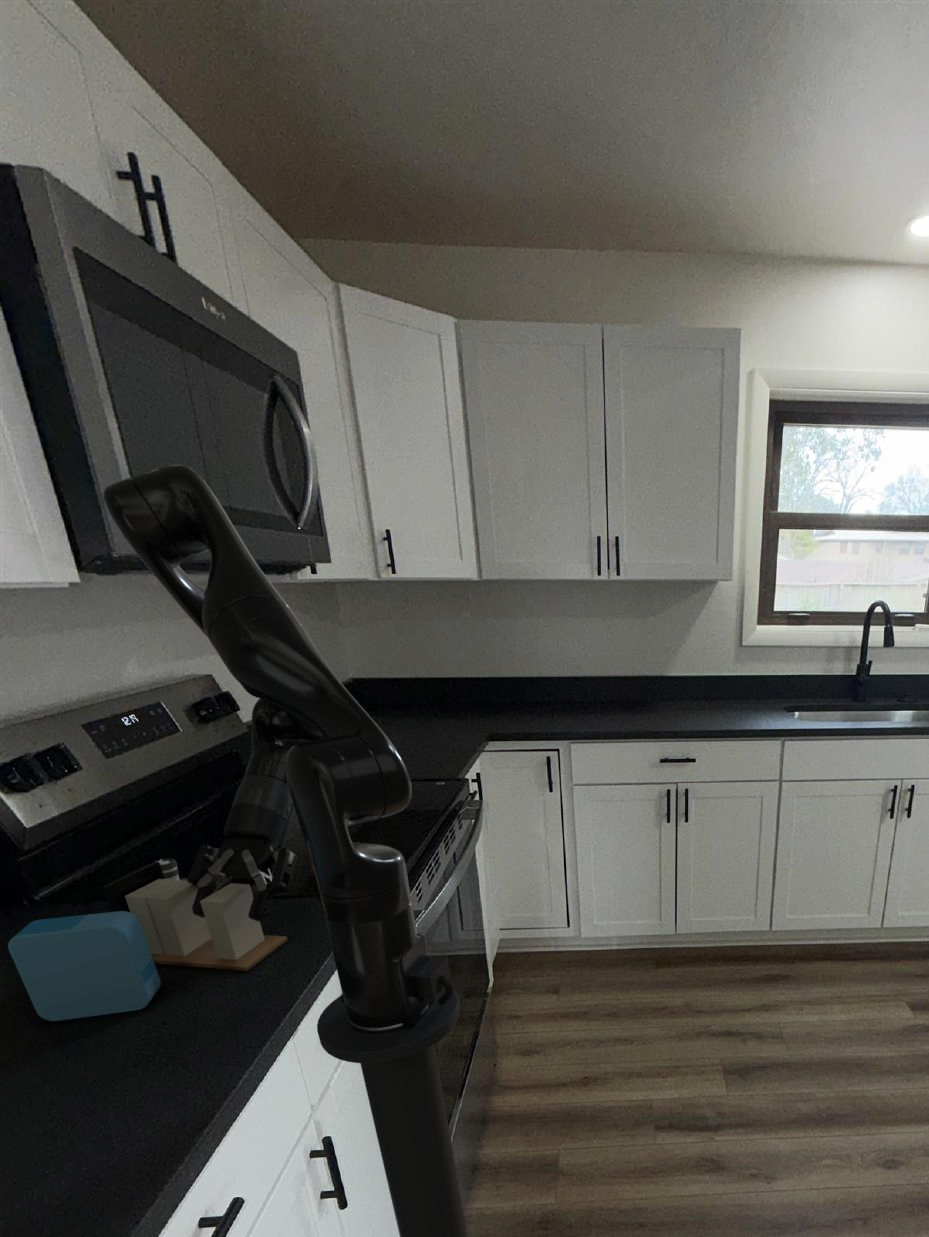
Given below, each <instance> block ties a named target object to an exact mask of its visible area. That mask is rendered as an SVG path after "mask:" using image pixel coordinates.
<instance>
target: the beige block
mask: <svg viewBox="0 0 929 1237" xmlns="http://www.w3.org/2000/svg"><path fill="white" fill-rule="evenodd" d="M251 888H252V887H251V885H250V884H249V883H248V884H247V883H234V882H233V883H231V882H230V883H228V884H226V885H225V886H224V887H221V888H219V889H218V890H217V891H216V892H215V893H213V894H211V895H210V896H208V897H206V898H205V899H203V900H201V901H200V903H201V906H202V909H203V912H204V916H205V919H206V922H207V925H208V929H209V932H210V935H211V938H212V942H213V945H214V948H215V951H216V955H217V958H218V959H230V960H237V959H239V958H240V957H242V956H243V955H244V954H246V953H247V952H248V951H250V950H251V949H253V948H254V947H255V946H257V945H258V944H260V943H261V942H262V941H264V940H265V939H264V935H265V934H264V932H263V929H262V925H261V921H255V920H253V919H251V918H249V916H248V914H249V911H250V907H251V904H252V901H253V898H254V895H253V891H252V889H251Z"/></svg>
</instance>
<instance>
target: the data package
mask: <svg viewBox="0 0 929 1237" xmlns="http://www.w3.org/2000/svg"><path fill="white" fill-rule="evenodd" d="M7 949H8V951H9V954H10V956H11V959H12V961H13V963H14V965H15V967H16V969H17V972H18V974H19V976H20V978H21V981H22V983H23V985H24V987H25V990H26V992H27V994H28V996H29V998H30V1001H31V1003H32V1006H33V1007H34V1010H35V1012H36V1014H37V1015H38V1016H39V1017H40V1018H42V1019H43V1020H45V1021H48V1022H61V1021H68V1020H70V1021H71V1020H76V1019H84V1018H91V1017H98V1016H106V1015H107V1016H108V1015H114V1014H121V1013H127V1012H135V1011H141V1010H143V1009H145V1008H146V1007H148V1005H149V1004H150V1003H151V1001H152V999H153V998H154V996H155V995H156V994H157V992H158V991H159V989H160V988H161V984H162V982H161V981H162V980H161V978H160V975H159V973H158V969H157V967H156V966H157V965H156V963H154V961H153V958H152V955H151V952H150V949H149V946H148V944H147V941H146V938H145V935H144V932H143V929H142V927H141V924H140V921H139V919H138V918H137V917H136V916H135V915H134V914H132V913H130V912H126V911H117V912H111V911H110V912H109V911H108V912H100V913H90V914H80V915H72V916H61V917H52V918H41V919H36V920H33V921H31V922H29V923H28V924H27V925H25V927H23V928H22V929H21V930H20V931H19V932H17V933H16V934H15V935H14V936H13V937H12V938H11V939H10V940H9V941H8V944H7Z"/></svg>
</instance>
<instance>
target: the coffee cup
mask: <svg viewBox="0 0 929 1237" xmlns="http://www.w3.org/2000/svg"><path fill="white" fill-rule="evenodd" d="M154 862H159V863H160V866H161V869H162V872H163V875H164V878H165V879H168V880H177V881H180V880H183V881H187V878H188V877H180V876H179V869H178V862H177V861H176V859H174V858H163V859H162V858H160V859H159V860H158V861H157V860H155V861H154Z"/></svg>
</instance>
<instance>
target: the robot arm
mask: <svg viewBox="0 0 929 1237" xmlns="http://www.w3.org/2000/svg"><path fill="white" fill-rule="evenodd" d="M103 501H104V503H105V507H106V509H107V511H108V514H109V515H110V517H111V519H112V520H113V522H114V524H115V525H116V526H117V528H118V530H119V531H120V533H121V534H122V536H123V537H124V539H125V540H126V542H127V543H128V545H129V546H130V547H131V548H132V550H133V551H134V553H135V554H136V555H137V556H138V557H139V559H140V560H141V561H142V562H143V563H144V565H145V566H146V567H147V569H148V570H149V571H150V572H151V573H152V575H153V576H154V577H155V578H156V579H157V581H158V582H159V583H160V584H161V585H162V587H163V588H164V589H165V590H166V592H167V593H168V594H169V595H170V596H171V598H173V600H174V601H175V602H176V603H177V605H178V606H179V607H180V608H181V609H182V610H183V611H184V613H185V614H186V615H187V616H188V617H189V618H190V619H191V621H192V622H193V623H194V624H195V625H196V626H197V628H199V629H200V631H201V632H202V633H203V634H204V635H205V636H206V638H207V639H208V641H209V642H210V644H211V646H212V647H213V649H214V650H215V651H216V654H217V655H218V656H219V658H220V659H221V661H222V662H223V664H224V665H225V667H226V669H227V670H228V672H230V674H231V675H232V676H233V678H234V679H235V680H236V681H237V682H238V683H239V685H240V686H241V687H242V688H243V689H244V690H245V691H246V693H247V694H249V695H251V696H252V697H255V698H258V699H257V701H256V702H255V703H254V705H253V708H252V711H251V754H250V758H249V761H248V764H247V766H246V769H245V773H244V775H243V778H242V780H241V783H240V784H239V786H238V788H237V791H236V793H235V796H234V799H233V802H232V805H231V808H230V810H229V814H228V817H227V820H226V822H225V825H224V829H223V837H224V841H223V843H222V845H220V847H211V846H210V845H208V844H206V843H203V844H201V845H200V846H199V849H198V850H197V853H196V856H195V858H194V861H193V863H192V865H191V869H190V871H189V874H188V876H187V877H186V878H187V881H188V882H189V883H191V884H193V885H195V886H197V887H198V892H197V894H196V897H195V900H194V903H193V906H192V910H193V913H194V914H195V915H197V916H199V917H201V918H205V916H204V912H203V909H202V906H201V903H200V901H201V900H203V899H205V898H206V897H208V896H210V895H211V894H213V893H215V892H217V891H218V890H220V889H221V888H223V886H224V885H229V884H230V883H231V882H232V881H233V880H234V879H235V880H243V879H247V880H250V881H254V883H255V885H256V888H257V890H258V891H255V892H254V895H253V901H252V904H251V907H250V911H249V914H248V916H249V918H251V919H253V920H255V921H260V922H263V921H264V918H266V917H267V916H268V913H269V910H270V908H271V903H272V900H273V897H275V896H277V894H281V893H283V894H287V893H288V892H289V891H290V889H291V886H292V885H291V884H292V881H293V877H294V873H295V868H296V864H297V859H298V856H297V855H296V854H295V853H294V852H292V851H291V850H290V849H287V848H286V847H282V846H283V843H284V839H285V836H286V834H287V830H288V826H289V823H290V820H291V817H292V813H293V810H295V814H296V817H297V820H298V824H299V827H300V830H301V834H302V839H303V842H304V845H305V846H304V847H305V849H306V850H305V851H306V853H307V857H308V860H309V863H310V866H311V869H312V871H313V874H314V877H315V881H316V884H317V889H318V892H319V898H320V901H321V906H322V910H323V913H324V919H325V923H326V928H327V931H328V936H329V942H330V945H331V950H332V955H333V959H334V964H335V967H336V972H337V976H338V982H339V985H340V989H341V994H340V1000H341V1005H342V1006H343V1004H344V1002H345V1007H346V1011H347V1020H348V1023H349V1025H350V1026H351V1027H352V1028H354V1029H355V1030H357V1031H360V1032H364V1033H386V1032H392V1031H396V1030H399V1029H403V1028H410V1029H412V1028H414V1027H415V1026H416V1025H417V1023H418V1022H419V1021H420V1020H421V1018H422V1017H423V1016H424V1015H425V1014H426V1013H427V1011H428V1010H429V1008H430V1007H431V1006H432V1005H433V1003H434V1002H435V1001H436V998H435V997H436V996H437V994H438V993H439V992H440V991H441V989H442V988H443V987H445V989H446V992H445V994H444V995H443V996H442V997H441V998H440V999H439V1001H438V1003H439V1004H440V1005H444V1004H445V1003H446V1001H448V1000H449V998H450V997H451V996H452V994H453V989H454V986H453V985H452V983H451V982H450V980H451V977H452V976H451V970H450V969H451V968H450V964H449V963H450V962H449V957H448V956H447V957H445V956H434V955H433V956H432V955H430V956H429V951H428V944H427V938H426V935H425V933H423V932H418V930H417V924H416V918H415V913H414V908H413V907H414V906H413V901H412V895H411V894H412V893H411V889H410V883H409V877H408V872H407V871H408V870H407V864H406V859H405V857H404V856H403V854H402V853H401V851H400V850H399V849H396V848H394V847H392V846H388V845H386V844H379V843H368V842H367V843H365V842H355V841H352V837H351V834H350V832H349V828H351V827H356V826H359V825H362V824H366V823H369V822H374V821H377V820H381V819H384V818H388V817H391V816H393V815H397V814H398V813H401V812H402V811H404V810H405V809H406V808H407V807H408V806H409V804H410V802H411V799H412V793H413V791H412V790H413V789H412V788H413V787H412V781H411V778H410V775H409V771H408V768H407V766H406V764H405V762H404V760H403V758H402V756H401V755H400V752H399V751H398V749H397V748H396V746H395V745H394V744H393V742H392V740H391V739H390V738H389V737H388V735H387V734H386V733H385V732H384V730H382V729H381V727H380V726H379V725H378V724H377V723H376V722H375V720H374V719H373V718H372V717H371V716H370V714H369V713H368V712H367V711H366V710H365V709H364V708H363V707H362V705H361V704H360V703H359V701H358V700H357V699H356V698H355V697H354V696H353V695H352V694H351V692H349V690H348V689H347V688H346V686H344V684H343V683H342V681H341V680H340V678H338V676H337V675H336V673H335V672H334V671H333V669H332V668H331V666H330V665H329V663H328V662H327V661H326V659H325V658H324V656H323V655H322V654H321V653H320V651H319V649H318V647H316V645H315V643H314V641H313V640H312V638H311V637H310V635H309V634H308V632H307V631H306V629H305V627H304V626H303V624H302V623H301V622H300V620H299V618H298V617H297V616H296V615H295V613H294V612H293V610H292V609H291V608H290V606H289V604H287V602H286V601H285V599H284V598H283V597H282V595H281V594H280V593H279V592H278V590H277V589H276V588H275V587H274V585H273V583H272V582H271V580H270V579H269V578H268V577H267V575H266V574H265V573H264V572H263V570H262V568H261V567H260V566H259V564H258V563H257V562H256V560H255V558H254V557H253V555H252V554H251V552H250V551H249V549H248V547H247V546H246V544H245V542H244V540H243V539H242V537H241V535H240V533H239V532H238V531H237V529H236V527H235V526H234V524H233V522H232V520H231V519H230V517H229V515H228V514H227V512H226V510H225V509H224V506H223V505H222V504H221V502H220V501H219V498H218V497H217V495H216V494H215V493H214V492H213V490H212V489H211V487H210V486H209V484H208V483H207V482H206V481H205V479H204V478H203V477H202V476H201V475H200V474H199V473H198V472H197V471H195V470H194V469H192V468H191V467H189V466H187V465H185V464H171V465H165V466H162V467H158V468H156V469H153V470H150V471H147V472H143V473H141V474H138V475H134V476H132V477H129V478H125V479H123V480H119V481H117V482H114V483H112V484H110V485H108V486H107V487H105V488H104V490H103ZM208 553H210V556H211V558H210V559H211V560H210V561H211V562H210V568H209V573H208V578H207V582H206V585H205V588H203V587H202V586H200V585H199V584H198V583H196V581H194V579H192V578H191V577H190V576H189V575H188V574H187V573H186V572H185V570H183V569H182V567H180V564H182V563H184V562H188V561H189V560H190V561H191V560H192V559H194V558H197V557H200V556H202V555H206V554H208ZM284 741H293V742H301V743H298V744H295V745H293V746H292V747H291V748H289V747H287V746H284V745H283V744H284ZM274 864H275V865H274ZM273 865H274V870H273V873H272V872H271V869H270V868H271V867H272V866H273ZM221 871H223V872H224V873H223V872H221Z"/></svg>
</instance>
